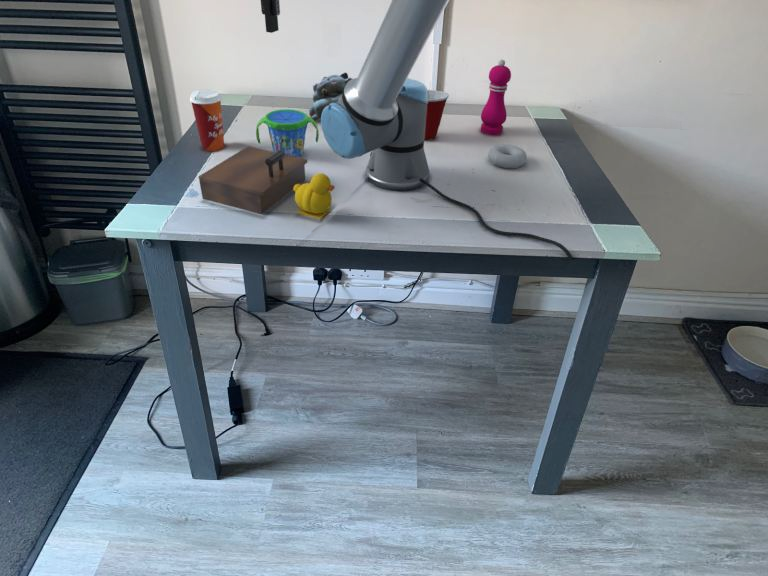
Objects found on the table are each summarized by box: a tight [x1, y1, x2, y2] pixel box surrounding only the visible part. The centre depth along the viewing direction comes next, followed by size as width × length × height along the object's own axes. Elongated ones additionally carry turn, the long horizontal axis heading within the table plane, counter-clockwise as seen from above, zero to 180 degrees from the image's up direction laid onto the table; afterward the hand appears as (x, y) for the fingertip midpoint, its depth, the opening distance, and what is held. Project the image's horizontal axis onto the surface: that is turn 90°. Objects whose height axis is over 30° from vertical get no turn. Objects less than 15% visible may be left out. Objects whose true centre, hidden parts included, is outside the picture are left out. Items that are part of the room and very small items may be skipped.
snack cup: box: [255, 108, 320, 158], centre depth 141 cm, size 16×10×10 cm
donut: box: [487, 143, 528, 169], centre depth 144 cm, size 10×4×10 cm
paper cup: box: [189, 89, 225, 152], centre depth 143 cm, size 8×8×14 cm
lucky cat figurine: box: [308, 72, 353, 121], centre depth 164 cm, size 15×12×14 cm
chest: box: [198, 164, 306, 215], centre depth 126 cm, size 15×18×5 cm
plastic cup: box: [424, 89, 450, 141], centre depth 153 cm, size 11×11×12 cm
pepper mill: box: [480, 59, 512, 136], centre depth 156 cm, size 7×7×20 cm
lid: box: [198, 145, 308, 196], centre depth 123 cm, size 16×18×5 cm
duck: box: [292, 173, 336, 222], centre depth 117 cm, size 9×6×10 cm, turn 66°
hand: (272, 31), depth 124 cm, fingers closed
